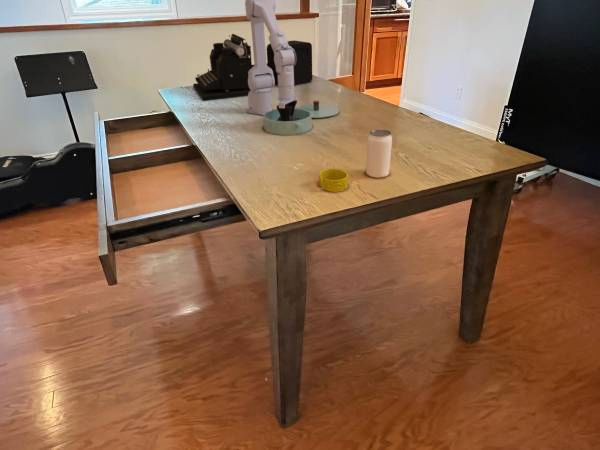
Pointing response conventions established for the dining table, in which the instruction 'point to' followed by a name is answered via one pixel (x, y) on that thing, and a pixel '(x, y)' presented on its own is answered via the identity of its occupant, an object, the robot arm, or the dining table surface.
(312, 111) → the lid
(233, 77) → the typewriter
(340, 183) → the bracelet
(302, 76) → the air purifier
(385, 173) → the can
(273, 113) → the pot
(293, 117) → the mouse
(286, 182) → the dining table surface
